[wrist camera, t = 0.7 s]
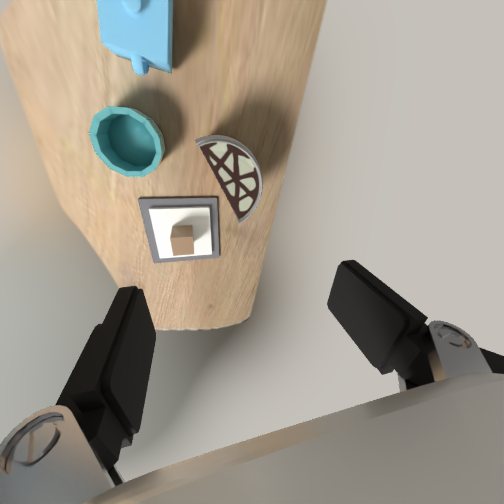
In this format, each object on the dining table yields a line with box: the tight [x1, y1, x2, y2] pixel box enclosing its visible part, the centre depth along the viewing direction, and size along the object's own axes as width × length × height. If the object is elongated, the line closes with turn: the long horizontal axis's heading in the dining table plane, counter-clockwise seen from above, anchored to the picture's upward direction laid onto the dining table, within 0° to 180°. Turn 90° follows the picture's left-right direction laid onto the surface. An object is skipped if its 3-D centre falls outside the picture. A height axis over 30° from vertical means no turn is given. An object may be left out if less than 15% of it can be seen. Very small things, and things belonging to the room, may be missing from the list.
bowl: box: [89, 106, 165, 177], centre depth 28 cm, size 8×8×5 cm
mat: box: [138, 197, 219, 263], centre depth 39 cm, size 13×13×1 cm
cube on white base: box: [149, 206, 212, 259], centre depth 36 cm, size 10×10×5 cm
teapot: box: [97, 0, 174, 75], centre depth 21 cm, size 12×6×8 cm, turn 167°
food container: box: [195, 135, 263, 223], centre depth 31 cm, size 12×6×10 cm, turn 24°
